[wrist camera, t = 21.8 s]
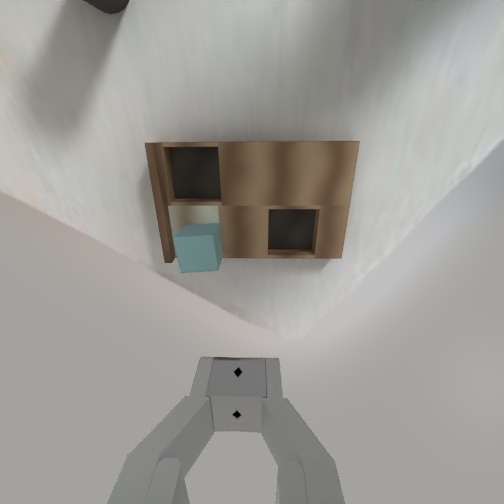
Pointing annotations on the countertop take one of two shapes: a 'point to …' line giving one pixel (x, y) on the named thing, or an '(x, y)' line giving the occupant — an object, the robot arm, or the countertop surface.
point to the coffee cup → (109, 5)
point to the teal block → (199, 247)
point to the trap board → (256, 195)
